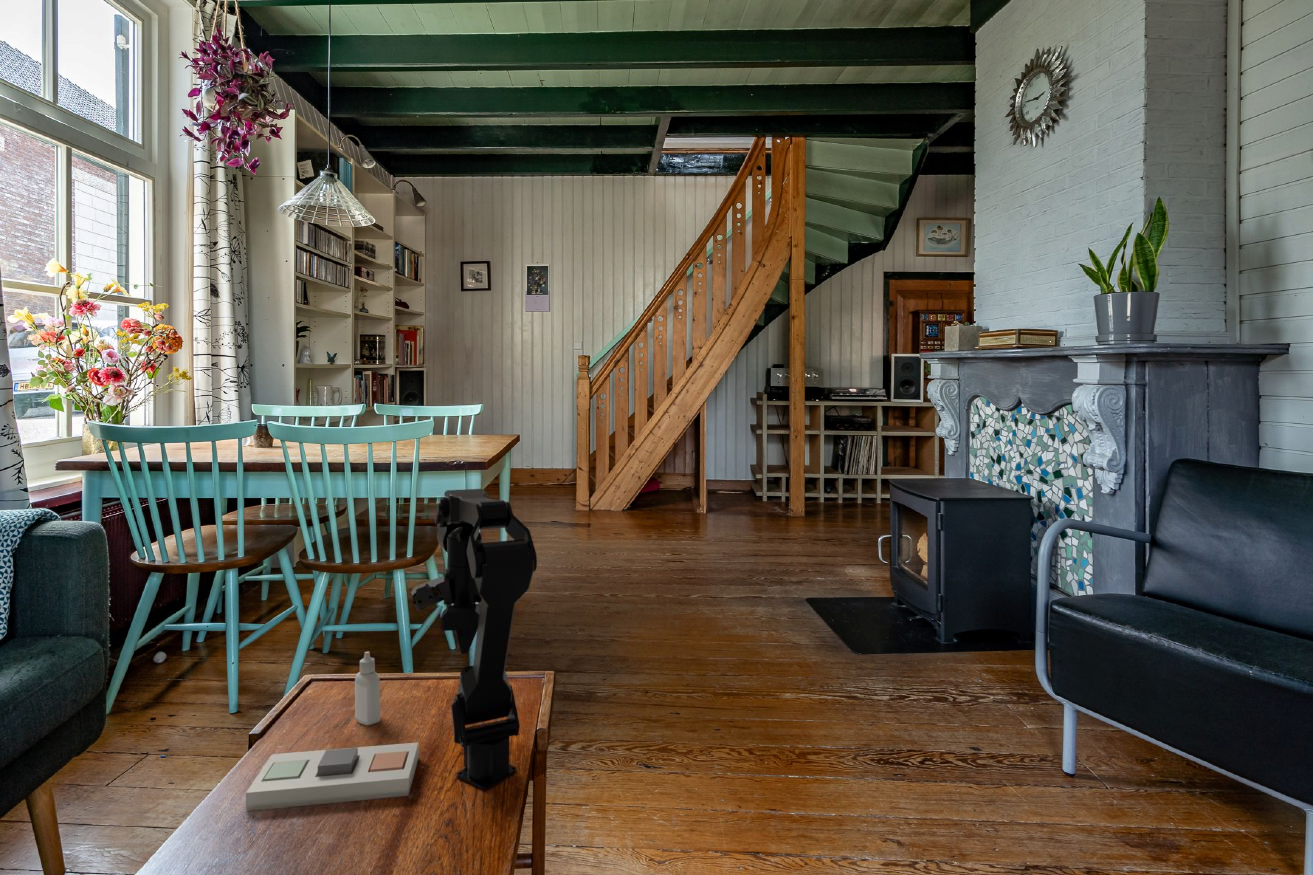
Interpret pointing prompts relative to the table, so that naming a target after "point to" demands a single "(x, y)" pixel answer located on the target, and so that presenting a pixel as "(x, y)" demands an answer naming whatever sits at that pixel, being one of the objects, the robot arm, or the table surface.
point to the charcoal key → (338, 762)
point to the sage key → (286, 770)
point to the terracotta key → (389, 761)
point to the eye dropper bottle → (367, 692)
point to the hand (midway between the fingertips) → (464, 653)
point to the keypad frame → (333, 780)
